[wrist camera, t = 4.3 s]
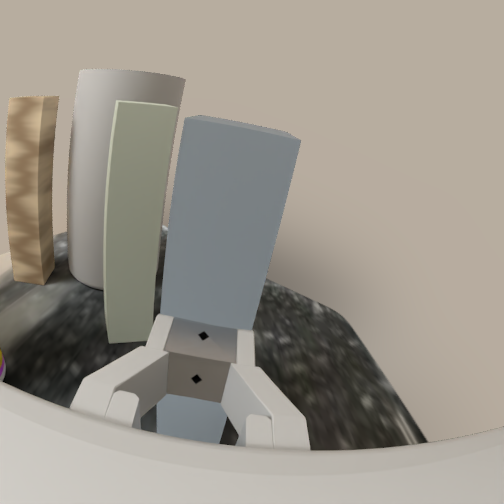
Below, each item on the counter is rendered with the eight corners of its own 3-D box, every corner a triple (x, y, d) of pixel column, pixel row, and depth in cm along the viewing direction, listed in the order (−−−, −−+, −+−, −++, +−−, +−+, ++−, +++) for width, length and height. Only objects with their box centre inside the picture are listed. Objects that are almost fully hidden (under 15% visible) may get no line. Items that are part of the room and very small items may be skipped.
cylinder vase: (170, 260, 47) (199, 83, 36) (133, 305, 35) (158, 71, 25) (99, 239, 47) (115, 76, 37) (51, 275, 36) (58, 69, 25)
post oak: (14, 280, 32) (9, 97, 23) (27, 263, 36) (27, 96, 27) (44, 285, 34) (43, 96, 25) (54, 267, 38) (59, 96, 28)
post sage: (108, 343, 29) (118, 101, 20) (104, 315, 32) (116, 100, 23) (152, 340, 31) (178, 107, 22) (143, 313, 34) (166, 104, 25)
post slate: (157, 444, 20) (184, 117, 11) (165, 401, 25) (200, 115, 15) (216, 454, 21) (301, 140, 12) (218, 410, 25) (286, 132, 16)
